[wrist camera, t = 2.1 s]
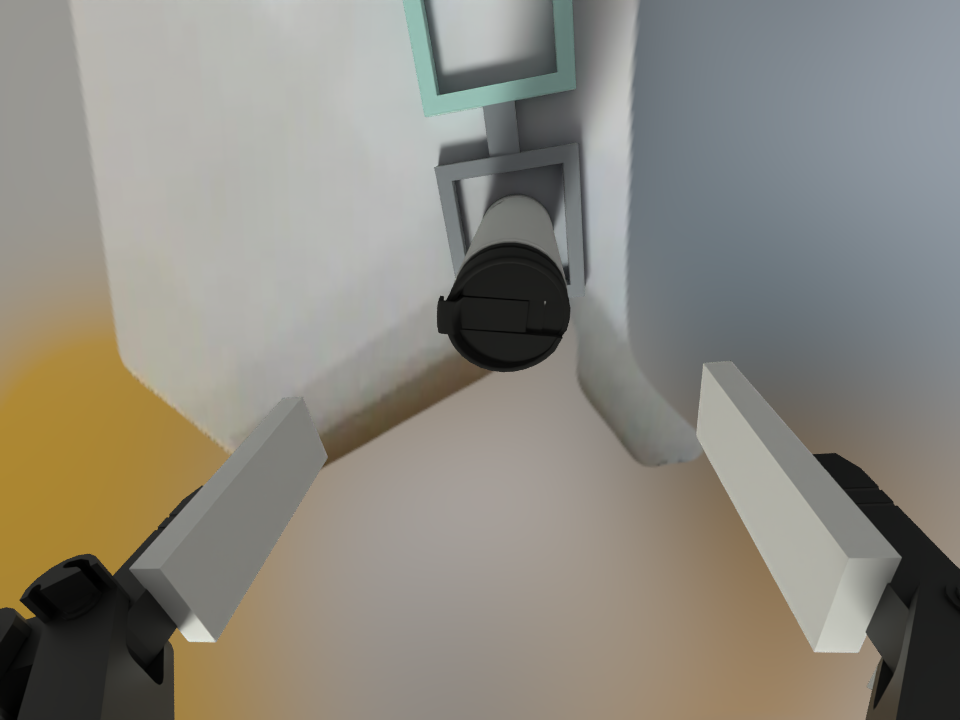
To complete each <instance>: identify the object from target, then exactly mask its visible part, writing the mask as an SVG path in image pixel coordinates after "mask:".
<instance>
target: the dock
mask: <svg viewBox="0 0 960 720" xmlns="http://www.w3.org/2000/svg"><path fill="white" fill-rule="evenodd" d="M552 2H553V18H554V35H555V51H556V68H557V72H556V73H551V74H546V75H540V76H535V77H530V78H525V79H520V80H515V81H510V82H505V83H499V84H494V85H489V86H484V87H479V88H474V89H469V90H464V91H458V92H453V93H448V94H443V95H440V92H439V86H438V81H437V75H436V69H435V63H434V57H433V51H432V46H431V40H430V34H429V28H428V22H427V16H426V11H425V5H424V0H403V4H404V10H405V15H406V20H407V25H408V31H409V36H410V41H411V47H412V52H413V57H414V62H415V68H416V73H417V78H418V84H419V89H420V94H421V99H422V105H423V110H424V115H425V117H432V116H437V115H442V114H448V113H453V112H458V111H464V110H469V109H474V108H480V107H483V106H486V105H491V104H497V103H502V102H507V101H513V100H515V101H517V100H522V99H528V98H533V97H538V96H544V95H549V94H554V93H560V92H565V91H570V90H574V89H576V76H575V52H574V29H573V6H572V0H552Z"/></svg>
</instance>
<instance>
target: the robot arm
mask: <svg viewBox="0 0 960 720" xmlns="http://www.w3.org/2000/svg"><path fill="white" fill-rule="evenodd" d="M696 436H697V438H698V440H699V442H700V444H701V446H702V447H703V449H704V451H705V453H706V455H707V457H708V458H709V460H710V462H711V464H712V466H713V467H714V469H715V471H716V473H717V475H718V477H719V478H720V480H721V482H722V484H723V486H724V488H725V489H726V491H727V493H728V495H729V496H730V498H731V500H732V502H733V504H734V506H735V508H736V510H737V511H738V513H739V515H740V517H741V518H742V521H743V522H744V524H745V526H746V528H747V530H748V531H749V533H750V535H751V537H752V539H753V541H754V543H755V544H756V546H757V548H758V550H759V552H760V554H761V555H762V557H763V559H764V561H765V563H766V564H767V566H768V568H769V570H770V572H771V574H772V575H773V577H774V579H775V581H776V583H777V585H778V587H779V588H780V590H781V592H782V594H783V596H784V598H785V599H786V601H787V603H788V605H789V607H790V609H791V610H792V612H793V614H794V616H795V617H796V620H797V621H798V623H799V625H800V627H801V629H802V631H803V632H804V634H805V636H806V638H807V640H808V641H809V643H810V645H811V647H812V649H813V651H814V652H845V653H847V652H848V653H858V652H859V650H860V648H861V646H862V644H863V642H864V639H865V637H866V635H868V637H869V638H870V640H871V641H872V643H873V644H874V646H875V647H876V649H877V650H878V652H879V653H880V655H881V656H882V658H881V660H880V662H879V664H878V666H877V668H876V670H875V672H874V673H873V676H872V677H871V679H870V681H869V683H868V686H867V687H868V688H869V689H871V690H872V693H871V698H870V702H869V706H868V711H867V715H866V720H960V569H959V568H958V567H957V566H956V565H955V564H954V563H953V562H952V561H951V560H950V559H949V558H948V557H947V556H946V555H945V554H944V553H943V552H942V551H941V550H940V549H939V548H938V547H937V546H936V545H935V544H934V543H933V542H932V541H931V540H930V539H929V538H928V537H927V536H926V535H925V534H924V533H923V532H922V530H921V529H920V528H918V526H917V525H916V524H915V523H914V522H913V521H912V520H911V519H910V518H908V516H907V515H906V514H904V512H903V511H902V510H901V509H900V508H899V507H898V506H895V505H894V504H893V501H892V500H891V499H890V498H889V497H888V496H887V495H886V494H885V493H884V492H883V491H882V490H879V488H878V486H877V484H875V482H874V481H873V480H871V478H870V477H869V476H868V475H867V474H866V473H865V472H864V471H863V470H862V469H861V468H860V467H858V466H856V465H855V464H853V463H851V462H849V461H848V460H846V459H844V458H843V457H841V456H840V455H838V454H836V453H829V454H811V452H810V451H809V450H808V449H807V448H806V447H805V446H804V444H803V443H802V442H801V441H800V440H799V439H798V438H797V436H796V435H795V434H794V433H793V432H792V431H791V429H790V428H789V427H788V426H787V425H786V424H785V423H784V421H783V420H782V419H781V418H780V417H779V416H778V414H777V413H776V412H775V411H774V410H773V409H772V408H771V406H770V405H769V404H768V403H767V402H766V401H765V400H764V398H763V397H762V396H761V395H760V394H759V393H758V392H757V391H756V389H755V388H754V387H753V386H752V385H751V383H750V382H749V381H748V380H747V379H746V378H745V377H744V375H743V374H742V373H741V372H740V371H739V370H738V368H736V366H735V365H734V364H733V363H732V362H731V361H725V362H712V363H703V373H702V383H701V393H700V403H699V413H698V423H697V433H696ZM327 458H328V457H327V454H326V452H325V449H324V447H323V445H322V442H321V440H320V437H319V435H318V432H317V430H316V428H315V425H314V423H313V420H312V418H311V416H310V413H309V411H308V408H307V406H306V404H305V401H304V399H303V397H292V398H282V400H281V401H280V402H279V403H278V404H277V405H276V406H275V407H274V408H273V410H272V411H271V412H270V413H269V414H268V415H267V416H266V417H265V418H264V420H263V421H262V422H261V423H260V424H259V425H258V426H257V427H256V428H255V430H254V431H253V432H252V433H251V434H250V435H249V436H248V437H247V438H246V439H245V441H244V442H243V443H242V444H241V445H240V446H239V447H238V448H237V449H236V451H235V452H234V453H233V454H232V455H231V456H230V457H229V459H227V461H226V462H225V463H224V464H223V465H222V466H221V467H220V468H219V469H218V471H217V472H216V473H215V474H214V475H213V476H212V477H211V478H210V479H209V481H208V482H207V483H206V484H205V485H204V486H201V487H200V488H198V489H197V490H195V491H194V492H193V493H191V494H190V495H189V496H187V497H186V498H185V499H183V500H182V501H181V503H180V504H179V505H178V506H177V507H176V508H175V509H174V510H173V511H172V512H171V513H170V516H169V518H166V519H165V520H164V521H163V522H162V523H161V524H160V525H159V526H158V530H155V531H154V532H153V533H152V534H151V535H150V536H149V537H148V538H147V539H146V541H145V542H144V543H143V544H142V545H141V546H140V547H139V548H138V549H137V550H136V552H134V553H133V555H132V556H131V557H130V558H129V559H128V560H127V561H126V562H125V563H124V564H123V565H122V566H121V568H120V569H119V570H118V571H117V572H116V573H115V574H114V575H113V576H112V575H111V573H110V572H109V571H108V570H107V569H106V568H105V567H104V565H103V564H102V563H101V562H100V561H99V560H98V559H97V557H96V556H94V555H91V554H84V555H78V556H75V557H72V558H70V559H67V560H65V561H63V562H61V563H59V564H58V565H56V566H54V567H52V568H51V569H49V570H48V571H47V572H46V573H44V574H42V575H41V576H40V577H39V578H37V579H36V580H35V581H34V582H33V583H32V584H31V585H30V586H29V587H28V588H27V589H26V590H25V592H24V594H23V595H22V597H21V599H20V601H21V602H22V603H23V604H24V605H25V606H26V607H27V608H28V609H29V610H30V611H31V612H32V613H34V614H35V615H36V617H33V618H30V619H25V618H23V617H22V616H21V615H20V614H19V613H18V612H17V611H16V610H15V609H12V608H7V607H6V608H2V609H0V720H174V651H173V648H172V645H171V643H170V642H169V641H168V639H169V638H170V636H171V635H172V634H173V632H174V631H175V629H176V628H178V629H179V630H180V632H181V633H182V634H183V635H184V637H185V638H186V639H187V640H188V641H190V642H217V640H218V638H219V637H220V635H221V633H222V632H223V630H224V628H225V627H226V625H227V623H228V622H229V620H230V618H231V617H232V615H233V614H234V612H235V610H236V609H237V607H238V605H239V604H240V602H241V600H242V599H243V597H244V595H245V594H246V592H247V590H248V589H249V587H250V585H251V584H252V582H253V580H254V579H255V577H256V575H257V574H258V572H259V570H260V569H261V567H262V565H263V564H264V562H265V560H266V559H267V557H268V556H269V554H270V552H271V550H272V549H273V547H274V545H275V544H276V542H277V540H278V539H279V537H280V536H281V534H282V532H283V531H284V529H285V527H286V526H287V524H288V522H289V521H290V519H291V517H292V516H293V514H294V512H295V511H296V509H297V507H298V506H299V504H300V502H301V501H302V499H303V497H304V496H305V494H306V492H307V491H308V489H309V488H310V486H311V484H312V483H313V481H314V479H315V478H316V476H317V474H318V473H319V471H320V469H321V468H322V466H323V464H324V463H325V461H326V459H327Z"/></svg>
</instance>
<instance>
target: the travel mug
mask: <svg viewBox="0 0 960 720" xmlns="http://www.w3.org/2000/svg"><path fill="white" fill-rule="evenodd" d="M569 320H570V304H569V298H568V290H567V283H566V279H565V275H564V271H563V267H562V263H561V259H560V255H559V251H558V247H557V243H556V239H555V235H554V231H553V227H552V223H551V219H550V217H549V214H548V212H547V211H546V209H545V208H544V206H543V205H542V204H541V203H540V202H538V201H537V200H535V199H534V198H531V197H529V196H526V195H521V194H515V195H509V196H505V197H503V198H501V199H499V200H497V201H496V202H495V203H493V204H492V205H491V206H490V208H489V209H488V210H487V212H486V213H485V215H484V217H483V219H482V222H481V224H480V226H479V228H478V230H477V232H476V234H475V237H474V239H473V241H472V243H471V245H470V247H469V250H468V252H467V254H466V256H465V258H464V260H463V262H462V265H461V267H460V269H459V271H458V273H457V276H456V279H455V282H454V285H453V287H452V289H451V292H450V294H449V296H448V298H447V300H446V301H445V300H444V296H440V298H439V301H438V306H437V327H438V332H439V333H441V334H448V336H449V338H450V340H451V342H452V344H453V346H454V347H455V349H456V350H457V351H458V352H459V353H460V354H461V355H462V356H463V357H464V358H465V359H467V360H468V361H469V362H471V363H473V364H475V365H477V366H479V367H481V368H484V369H487V370H491V371H499V372H513V371H519V370H523V369H527V368H529V367H532V366H534V365H536V364H538V363H540V362H542V361H543V360H545V359H546V358H547V357H548V356H550V355H551V354H552V353H553V352H554V351H555V350H556V348H557V346H558V344H559V343H560V341H561V339H562V335H563V334H564V332H565V331H566V330H567V327H568V323H569Z"/></svg>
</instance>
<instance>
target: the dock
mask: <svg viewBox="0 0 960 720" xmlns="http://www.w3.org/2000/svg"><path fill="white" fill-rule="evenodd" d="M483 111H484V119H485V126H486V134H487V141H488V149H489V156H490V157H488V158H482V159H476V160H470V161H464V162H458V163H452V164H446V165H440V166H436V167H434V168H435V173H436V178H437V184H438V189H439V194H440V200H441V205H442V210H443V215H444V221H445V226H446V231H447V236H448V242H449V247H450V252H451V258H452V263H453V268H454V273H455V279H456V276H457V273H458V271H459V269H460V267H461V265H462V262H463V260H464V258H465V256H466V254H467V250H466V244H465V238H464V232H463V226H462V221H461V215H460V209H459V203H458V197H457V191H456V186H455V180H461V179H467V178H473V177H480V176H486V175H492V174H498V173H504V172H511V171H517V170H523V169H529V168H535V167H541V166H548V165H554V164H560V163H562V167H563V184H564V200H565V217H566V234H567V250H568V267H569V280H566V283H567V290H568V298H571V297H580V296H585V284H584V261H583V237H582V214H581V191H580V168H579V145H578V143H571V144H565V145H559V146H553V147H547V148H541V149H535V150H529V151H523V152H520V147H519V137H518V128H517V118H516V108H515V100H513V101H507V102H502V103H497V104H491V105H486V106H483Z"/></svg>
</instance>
